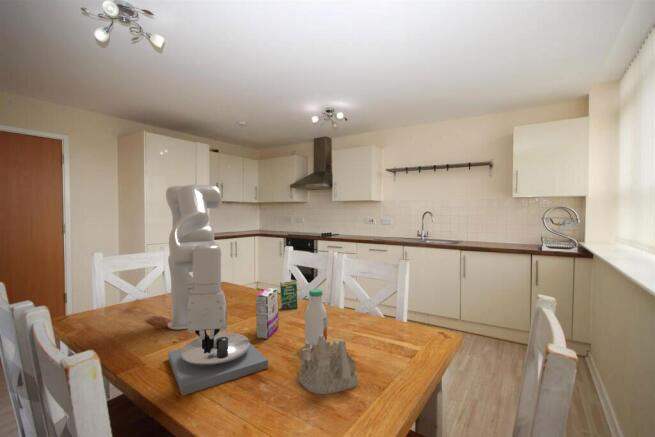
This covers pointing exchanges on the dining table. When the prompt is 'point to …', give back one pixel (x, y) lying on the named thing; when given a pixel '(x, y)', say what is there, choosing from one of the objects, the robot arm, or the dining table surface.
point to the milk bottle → (315, 318)
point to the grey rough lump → (327, 367)
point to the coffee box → (288, 295)
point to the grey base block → (214, 370)
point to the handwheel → (216, 350)
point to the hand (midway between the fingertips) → (208, 350)
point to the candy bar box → (267, 312)
